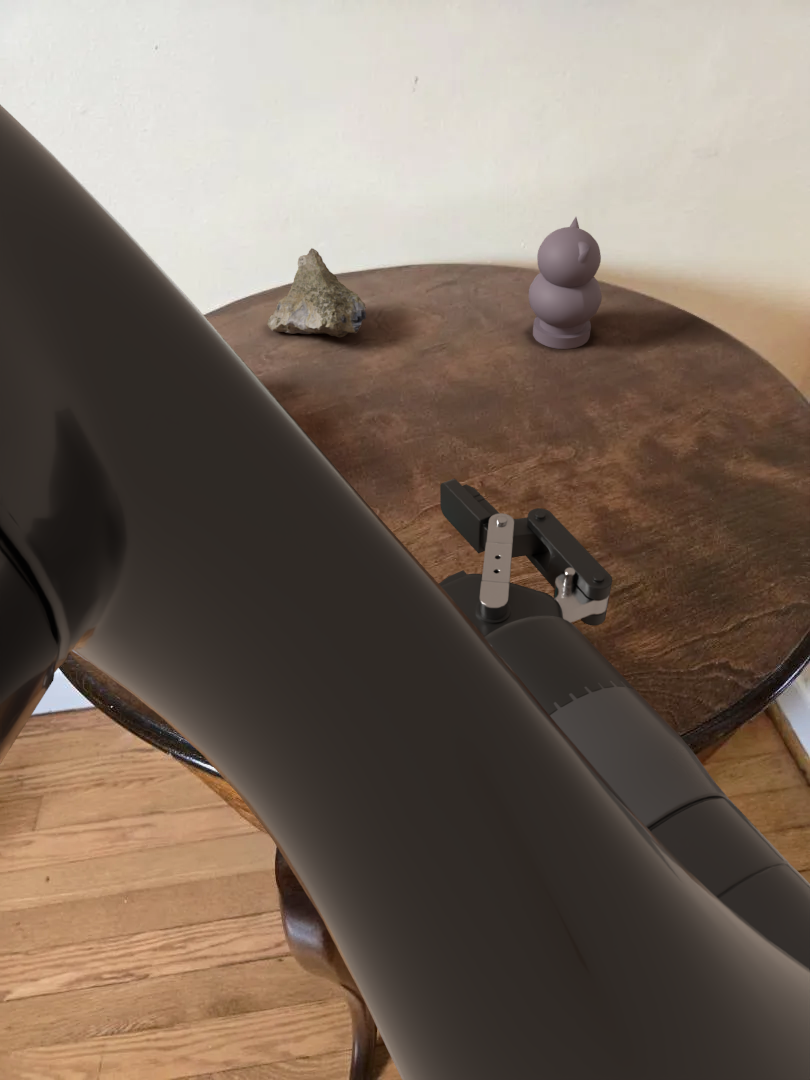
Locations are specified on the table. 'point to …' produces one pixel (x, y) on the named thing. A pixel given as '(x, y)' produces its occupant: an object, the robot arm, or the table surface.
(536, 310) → the cat figurine
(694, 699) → the table surface
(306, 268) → the rock
